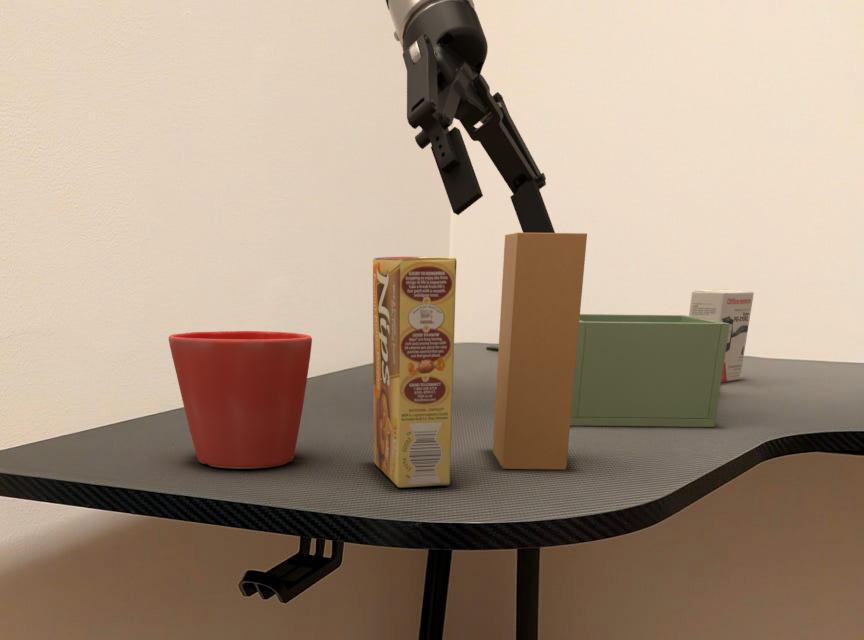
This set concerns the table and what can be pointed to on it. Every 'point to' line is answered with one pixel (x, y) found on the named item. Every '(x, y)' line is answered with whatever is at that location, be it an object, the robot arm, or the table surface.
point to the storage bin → (648, 370)
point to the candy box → (413, 368)
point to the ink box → (728, 310)
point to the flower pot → (242, 394)
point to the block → (537, 348)
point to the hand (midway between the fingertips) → (508, 228)
